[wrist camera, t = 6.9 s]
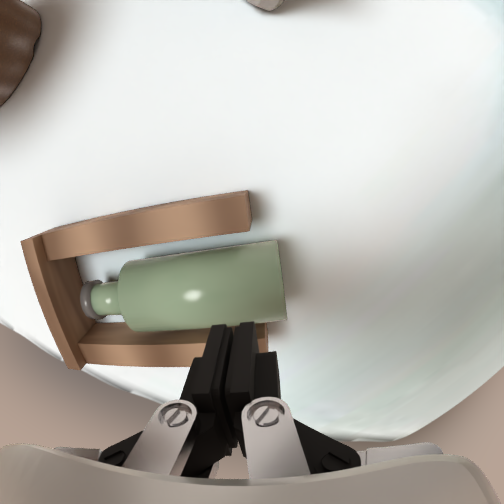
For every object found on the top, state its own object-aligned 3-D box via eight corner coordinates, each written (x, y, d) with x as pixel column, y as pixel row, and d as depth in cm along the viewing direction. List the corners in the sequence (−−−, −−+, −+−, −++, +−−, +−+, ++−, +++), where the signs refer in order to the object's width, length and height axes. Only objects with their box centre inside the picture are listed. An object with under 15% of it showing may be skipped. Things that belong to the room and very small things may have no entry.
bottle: (279, 255, 15) (62, 283, 16) (289, 335, 16) (88, 345, 18) (275, 231, 20) (97, 258, 21) (283, 296, 21) (115, 312, 22)
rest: (247, 190, 19) (242, 197, 14) (268, 334, 22) (268, 371, 18) (54, 227, 20) (20, 241, 16) (91, 341, 23) (68, 368, 19)
